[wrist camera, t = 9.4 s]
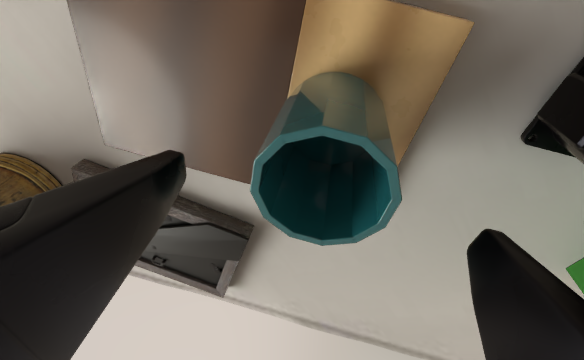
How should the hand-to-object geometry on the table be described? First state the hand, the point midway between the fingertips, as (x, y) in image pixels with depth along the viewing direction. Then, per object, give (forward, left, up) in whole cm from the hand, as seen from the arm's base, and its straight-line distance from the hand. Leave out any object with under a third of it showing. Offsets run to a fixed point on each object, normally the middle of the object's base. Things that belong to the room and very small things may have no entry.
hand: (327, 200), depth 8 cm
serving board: (+6, +3, -13) cm, 15 cm away
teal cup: (0, +3, -12) cm, 12 cm away
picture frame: (+14, +22, -13) cm, 29 cm away
